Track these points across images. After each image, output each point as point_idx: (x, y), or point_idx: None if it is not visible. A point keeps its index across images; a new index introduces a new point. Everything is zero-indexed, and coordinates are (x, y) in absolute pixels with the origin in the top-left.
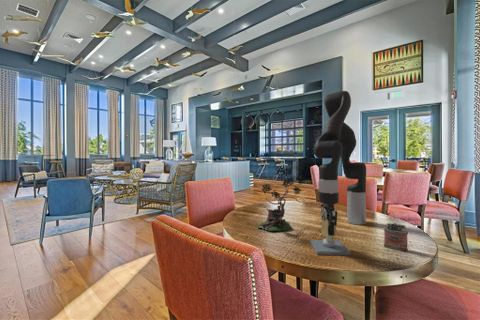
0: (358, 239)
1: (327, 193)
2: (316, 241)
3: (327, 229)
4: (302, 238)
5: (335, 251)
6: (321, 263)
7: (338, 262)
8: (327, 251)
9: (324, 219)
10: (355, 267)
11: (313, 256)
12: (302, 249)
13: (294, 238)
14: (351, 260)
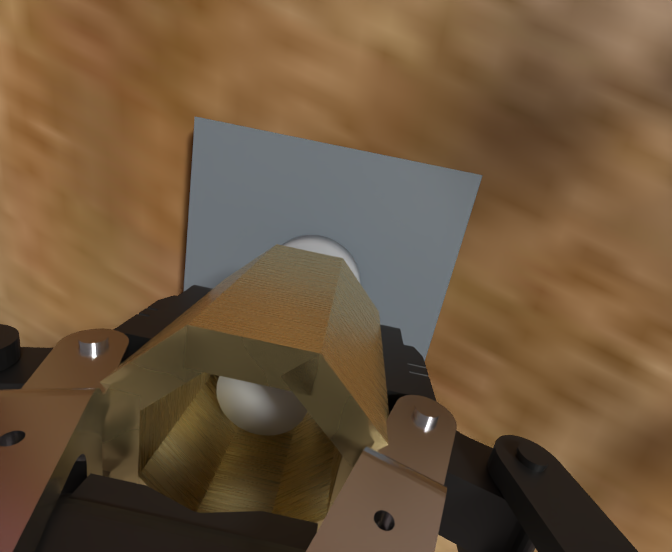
0: (445, 548)
1: None
2: (428, 220)
3: (189, 308)
4: (618, 143)
5: (189, 270)
6: (46, 77)
7: (75, 216)
8: (191, 207)
9: (323, 411)
10: (14, 283)
11: (171, 66)
12: (331, 19)
13: (655, 45)
14: (111, 316)
